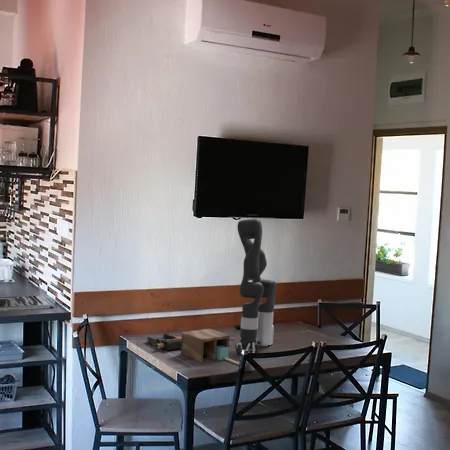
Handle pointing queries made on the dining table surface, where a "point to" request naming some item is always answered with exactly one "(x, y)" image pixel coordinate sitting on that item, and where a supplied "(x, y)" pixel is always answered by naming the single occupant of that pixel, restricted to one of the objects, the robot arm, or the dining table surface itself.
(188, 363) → the dining table surface
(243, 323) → the robot arm
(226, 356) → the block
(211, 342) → the shelf
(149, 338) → the submachine gun
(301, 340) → the dining table surface
